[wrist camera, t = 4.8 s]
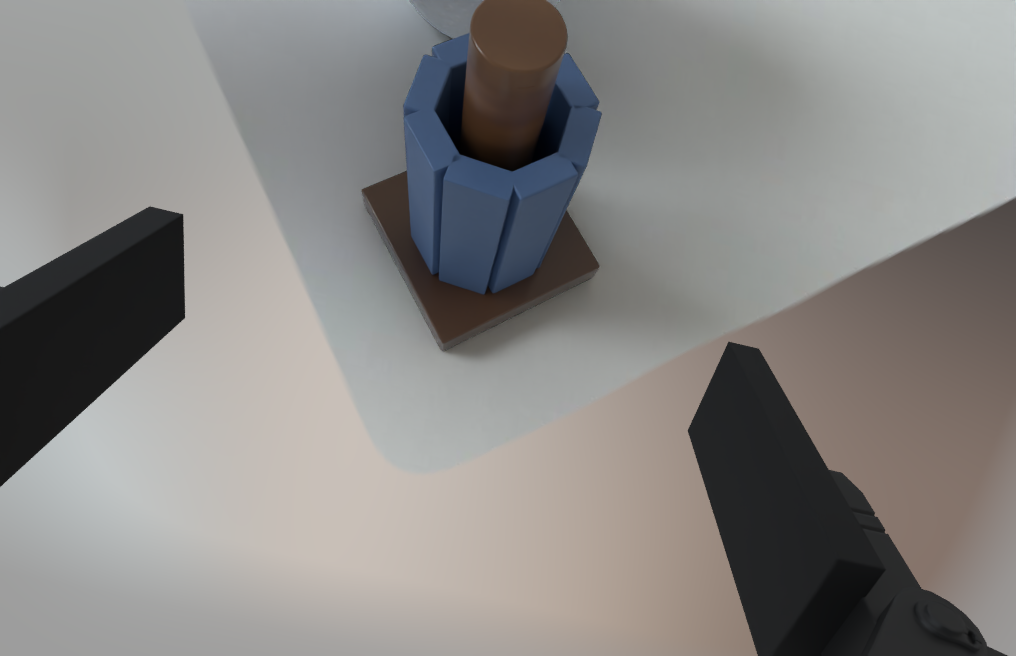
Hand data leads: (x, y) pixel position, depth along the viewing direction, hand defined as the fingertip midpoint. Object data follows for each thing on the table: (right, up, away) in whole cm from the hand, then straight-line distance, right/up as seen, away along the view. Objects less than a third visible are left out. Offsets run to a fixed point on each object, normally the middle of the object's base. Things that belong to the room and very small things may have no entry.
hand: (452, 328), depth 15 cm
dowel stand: (0, +4, +15) cm, 15 cm away
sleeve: (0, +5, +13) cm, 14 cm away
